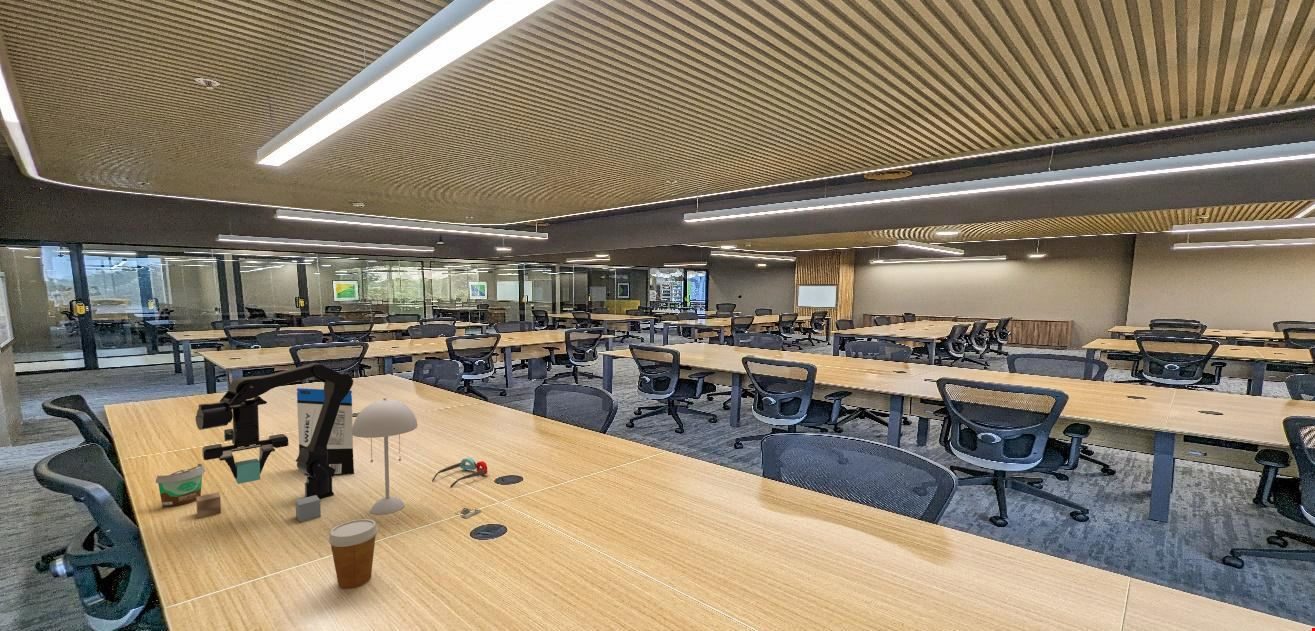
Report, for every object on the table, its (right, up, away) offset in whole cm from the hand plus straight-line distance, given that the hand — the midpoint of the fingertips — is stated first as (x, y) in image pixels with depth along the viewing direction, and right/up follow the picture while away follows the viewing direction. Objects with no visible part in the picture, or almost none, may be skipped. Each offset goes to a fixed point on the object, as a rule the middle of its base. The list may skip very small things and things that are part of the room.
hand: (247, 475), depth 145 cm
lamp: (+37, -12, +6) cm, 39 cm away
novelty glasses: (+49, -11, +31) cm, 59 cm away
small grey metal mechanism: (+66, -12, +3) cm, 67 cm away
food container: (-28, -12, +12) cm, 33 cm away
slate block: (+17, -12, 0) cm, 21 cm away
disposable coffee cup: (+50, -13, -33) cm, 61 cm away
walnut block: (-14, -12, +3) cm, 19 cm away
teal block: (0, -1, 0) cm, 1 cm away
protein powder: (-3, -11, +39) cm, 40 cm away
